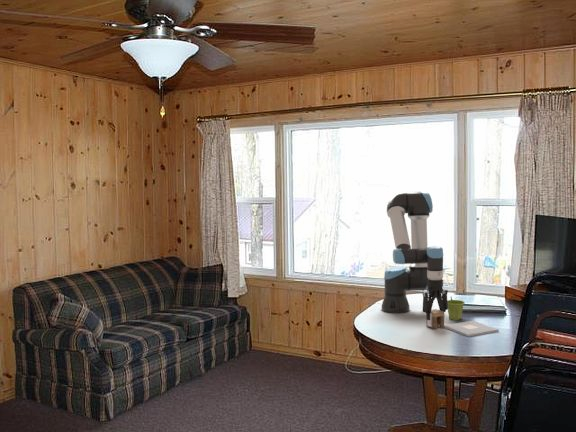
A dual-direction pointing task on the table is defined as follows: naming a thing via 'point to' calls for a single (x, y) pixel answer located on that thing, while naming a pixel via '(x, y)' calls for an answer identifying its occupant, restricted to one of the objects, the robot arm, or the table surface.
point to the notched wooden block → (437, 319)
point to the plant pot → (455, 309)
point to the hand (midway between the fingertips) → (435, 325)
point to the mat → (470, 328)
